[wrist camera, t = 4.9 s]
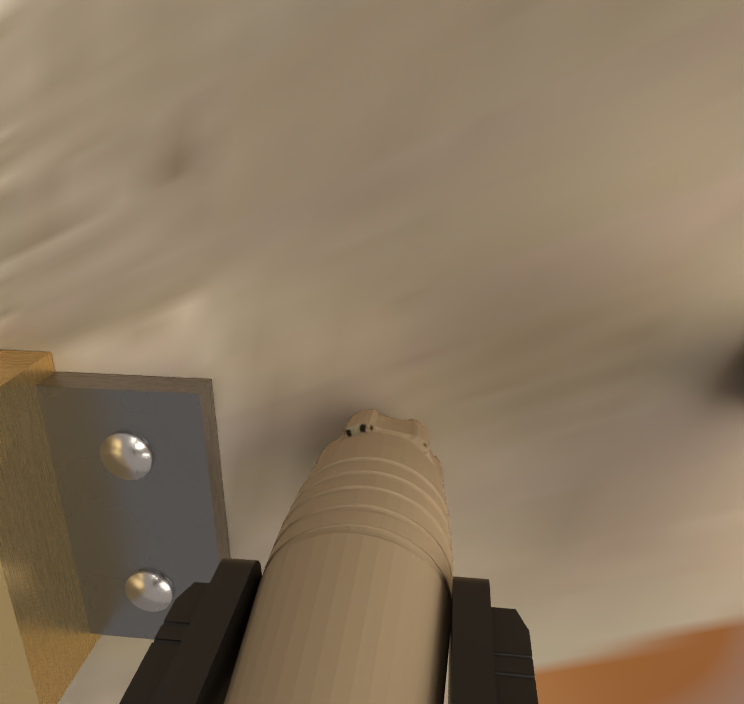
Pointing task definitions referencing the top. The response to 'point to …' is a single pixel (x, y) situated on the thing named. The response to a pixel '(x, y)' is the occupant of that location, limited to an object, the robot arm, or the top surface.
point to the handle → (356, 579)
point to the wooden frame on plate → (98, 513)
